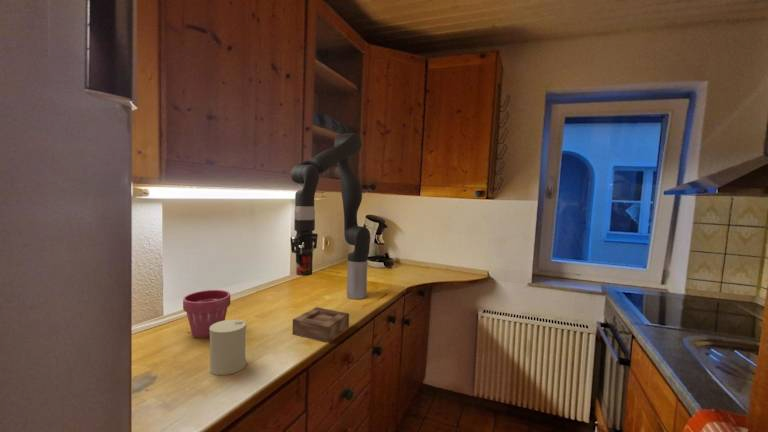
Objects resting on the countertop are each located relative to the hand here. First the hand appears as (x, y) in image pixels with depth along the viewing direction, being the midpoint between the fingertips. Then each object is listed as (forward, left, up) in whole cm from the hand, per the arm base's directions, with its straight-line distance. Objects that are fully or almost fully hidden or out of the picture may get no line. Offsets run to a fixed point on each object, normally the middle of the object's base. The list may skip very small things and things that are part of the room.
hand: (304, 261), depth 129 cm
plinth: (+7, +13, -22) cm, 26 cm away
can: (+39, +4, -22) cm, 45 cm away
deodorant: (0, 0, -5) cm, 5 cm away
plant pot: (+26, -20, -22) cm, 40 cm away
